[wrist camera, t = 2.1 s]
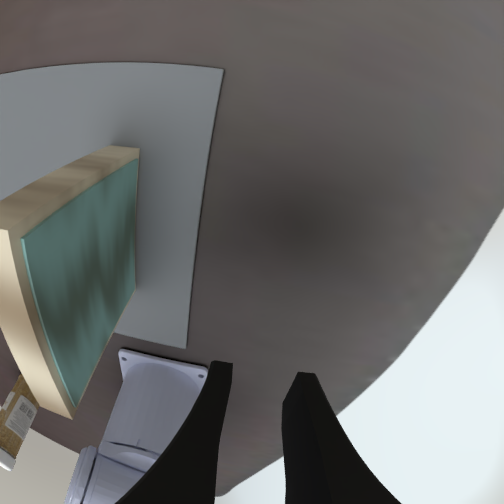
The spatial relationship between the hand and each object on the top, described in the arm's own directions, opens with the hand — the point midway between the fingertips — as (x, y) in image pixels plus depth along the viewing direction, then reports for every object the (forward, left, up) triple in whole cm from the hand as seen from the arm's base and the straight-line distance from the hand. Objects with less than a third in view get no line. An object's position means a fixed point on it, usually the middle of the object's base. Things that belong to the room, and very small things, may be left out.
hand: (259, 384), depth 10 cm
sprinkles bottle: (-26, +25, -11) cm, 38 cm away
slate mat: (0, +15, -10) cm, 18 cm away
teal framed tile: (0, +9, -10) cm, 13 cm away
